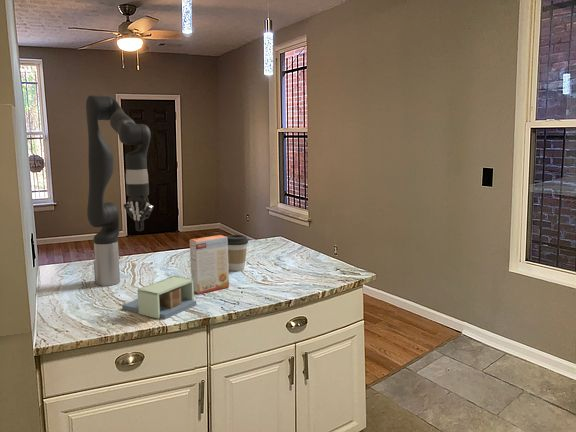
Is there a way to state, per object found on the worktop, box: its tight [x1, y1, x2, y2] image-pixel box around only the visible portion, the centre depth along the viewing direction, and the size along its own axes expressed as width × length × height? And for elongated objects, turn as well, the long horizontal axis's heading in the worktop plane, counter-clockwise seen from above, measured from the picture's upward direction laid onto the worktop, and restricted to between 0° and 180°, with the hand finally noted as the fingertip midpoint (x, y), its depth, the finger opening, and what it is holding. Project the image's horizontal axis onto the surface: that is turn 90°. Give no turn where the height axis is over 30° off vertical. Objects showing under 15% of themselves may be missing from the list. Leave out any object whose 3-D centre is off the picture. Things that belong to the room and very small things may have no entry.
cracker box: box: [189, 234, 230, 295], centre depth 198 cm, size 14×6×21 cm, turn 127°
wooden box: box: [159, 287, 181, 309], centre depth 177 cm, size 5×5×6 cm
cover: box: [137, 275, 195, 319], centre depth 178 cm, size 9×18×9 cm, turn 150°
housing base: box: [122, 298, 197, 320], centre depth 180 cm, size 20×16×6 cm
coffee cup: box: [226, 234, 249, 272], centre depth 228 cm, size 11×11×15 cm
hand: (139, 230), depth 180 cm, fingers closed
